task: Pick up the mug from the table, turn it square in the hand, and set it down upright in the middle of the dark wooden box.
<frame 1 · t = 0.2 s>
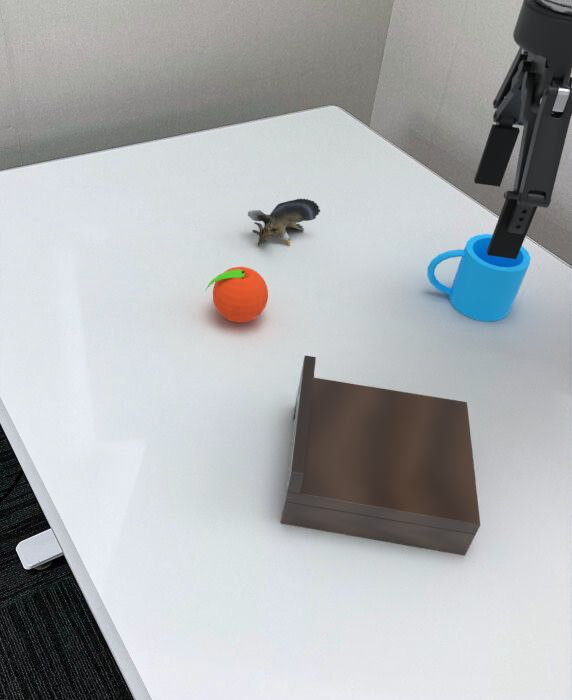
hand: (493, 217, 79), 22 cm above the table, tool pointing down, fingers open, 13 cm apart
dark wooden box: (373, 475, 81), on the table
clementine: (233, 317, 99), on the table
mug: (464, 300, 105), on the table
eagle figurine: (279, 239, 112), on the table
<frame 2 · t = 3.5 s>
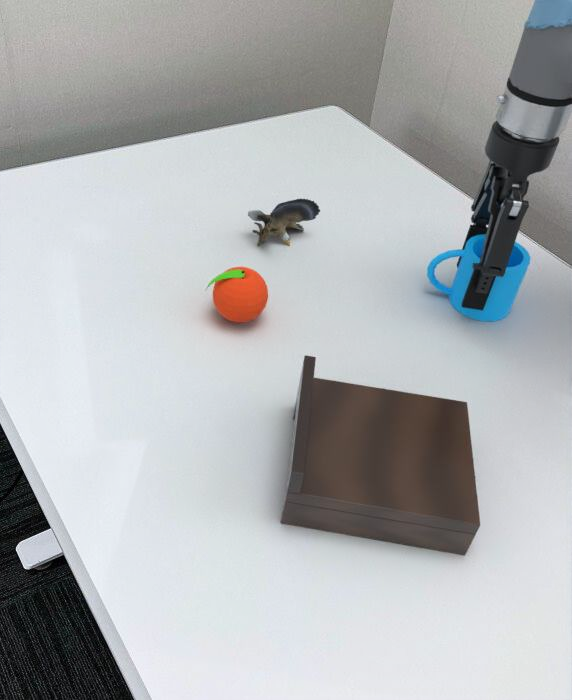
hand: (469, 286, 103), 2 cm above the table, tool pointing down, fingers closed on mug, 8 cm apart
mug: (464, 300, 105), on the table, touching gripper
everything else where it was.
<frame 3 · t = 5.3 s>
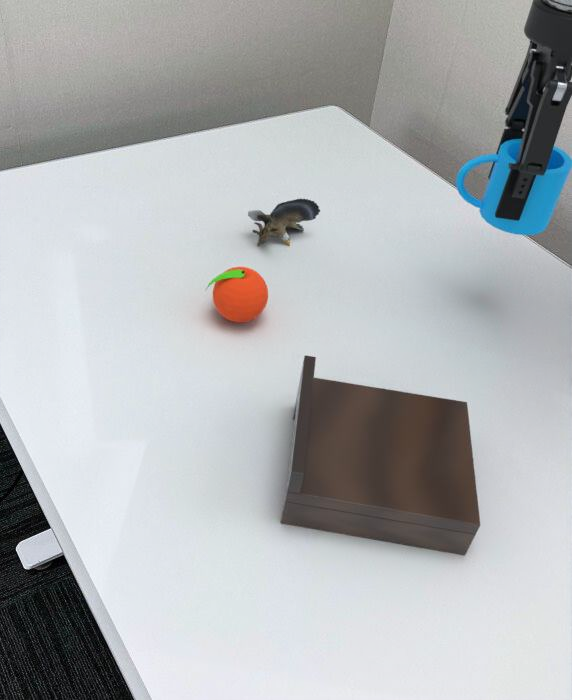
hand: (503, 197, 93), 16 cm above the table, tool pointing down, fingers closed on mug, 8 cm apart
mug: (496, 215, 95), point 14 cm above the table, touching gripper
everything else where it was.
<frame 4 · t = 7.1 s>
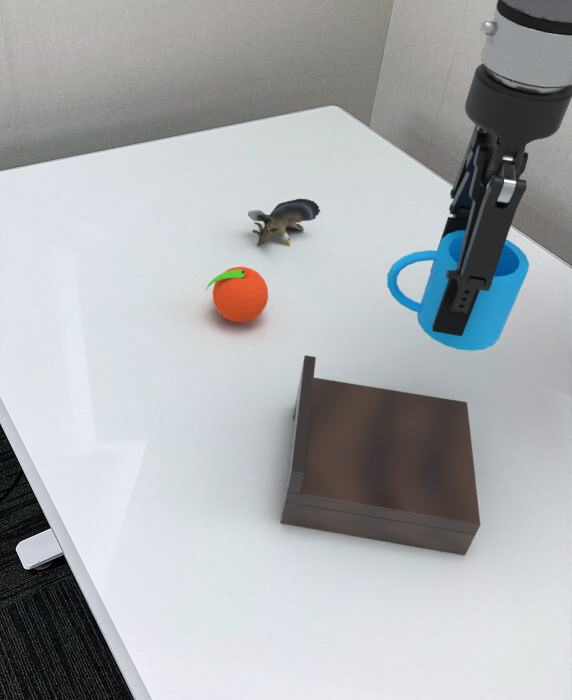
hand: (445, 302, 75), 18 cm above the table, tool pointing down, fingers closed on mug, 8 cm apart
mug: (438, 320, 77), point 15 cm above the table, touching gripper
everything else where it was.
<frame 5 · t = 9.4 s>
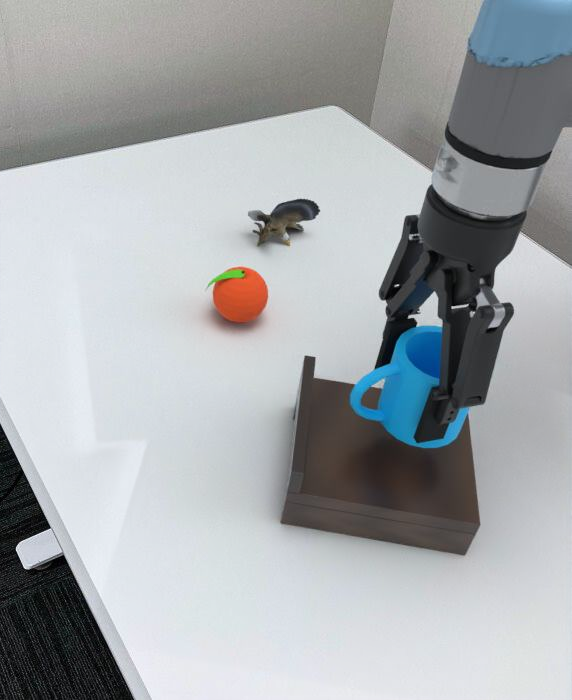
hand: (407, 403, 73), 11 cm above the table, tool pointing down, fingers closed on mug, 8 cm apart
mug: (400, 419, 75), point 9 cm above the table, touching gripper
everything else where it was.
when the fingers open (7 cm above the table, at t = 10.8 s): mug stays where it is, resting on dark wooden box.
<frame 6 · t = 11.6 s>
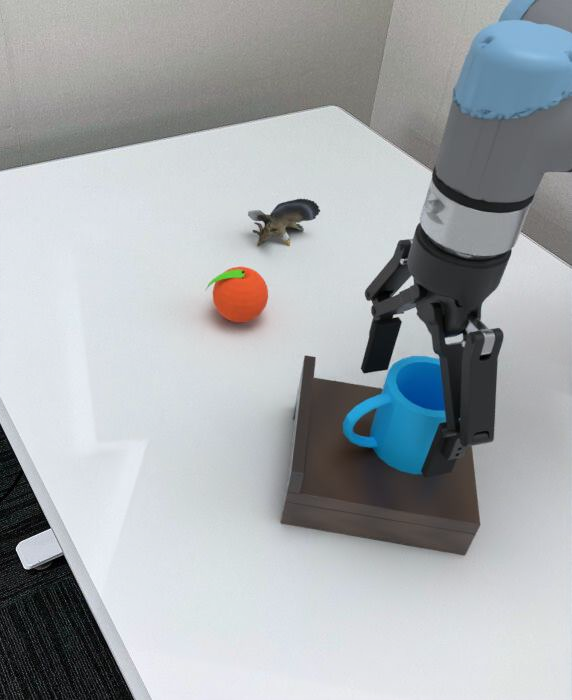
hand: (403, 417, 75), 9 cm above the table, tool pointing down, fingers open, 13 cm apart
mug: (391, 446, 78), point 5 cm above the table, touching dark wooden box
everything else where it was.
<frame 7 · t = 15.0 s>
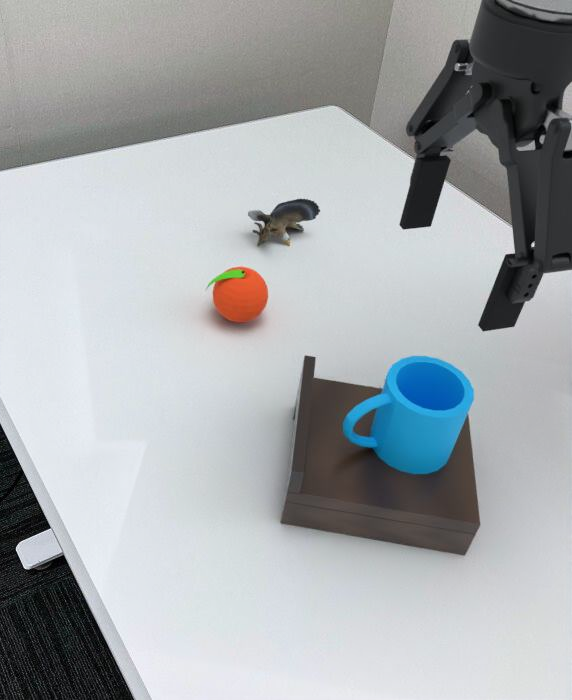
hand: (452, 272, 63), 27 cm above the table, tool pointing down, fingers open, 13 cm apart
nothing on the table moved.
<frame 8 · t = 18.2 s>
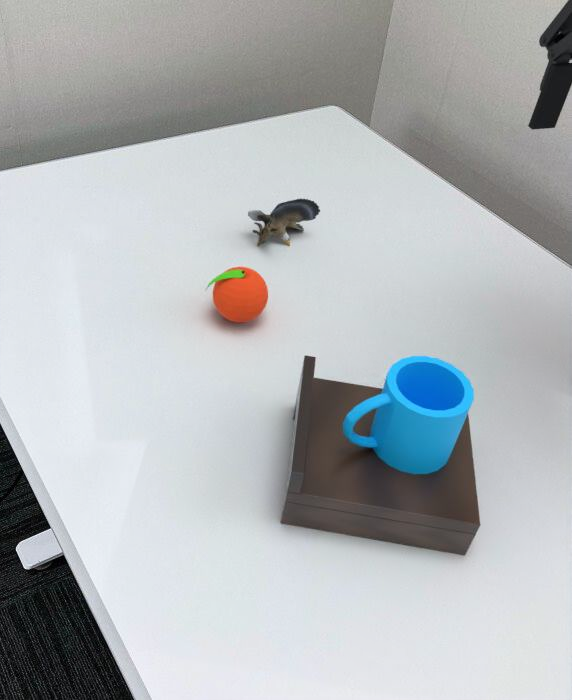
nothing on the table moved.
at the end: mug inside the target area on the dark wooden box (1.2 cm from its centre), point 4.8 cm above the dark wooden box's base; mug tilted 0°; the gripper is holding nothing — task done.
